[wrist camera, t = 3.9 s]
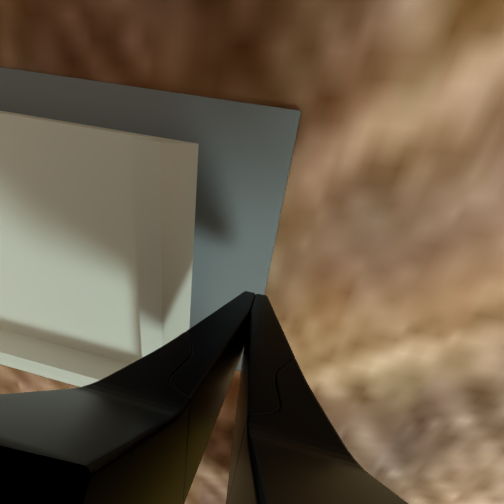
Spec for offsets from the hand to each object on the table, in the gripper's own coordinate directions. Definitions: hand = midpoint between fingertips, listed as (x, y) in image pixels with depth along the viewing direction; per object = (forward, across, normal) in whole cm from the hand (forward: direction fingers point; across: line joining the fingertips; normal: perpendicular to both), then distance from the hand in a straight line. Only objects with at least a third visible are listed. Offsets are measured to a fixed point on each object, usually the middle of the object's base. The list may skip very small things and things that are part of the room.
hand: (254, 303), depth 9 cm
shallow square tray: (+2, +9, 0) cm, 9 cm away
